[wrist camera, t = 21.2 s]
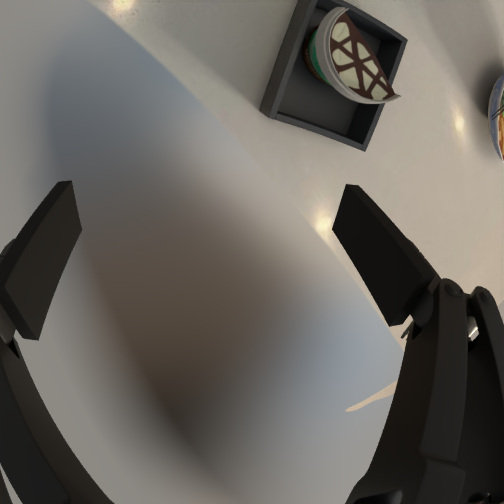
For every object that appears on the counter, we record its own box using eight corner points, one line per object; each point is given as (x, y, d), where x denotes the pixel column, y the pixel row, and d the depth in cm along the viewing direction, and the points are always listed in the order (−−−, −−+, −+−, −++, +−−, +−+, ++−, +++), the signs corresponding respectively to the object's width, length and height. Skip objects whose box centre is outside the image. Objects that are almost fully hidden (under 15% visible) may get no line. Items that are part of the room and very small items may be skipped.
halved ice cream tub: (272, 39, 27) (297, 29, 19) (310, 16, 26) (345, 4, 18) (327, 111, 34) (364, 127, 26) (360, 88, 32) (403, 100, 25)
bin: (258, 110, 34) (268, 117, 29) (299, -3, 24) (315, -13, 20) (346, 140, 38) (365, 152, 33) (384, 39, 28) (408, 39, 24)
